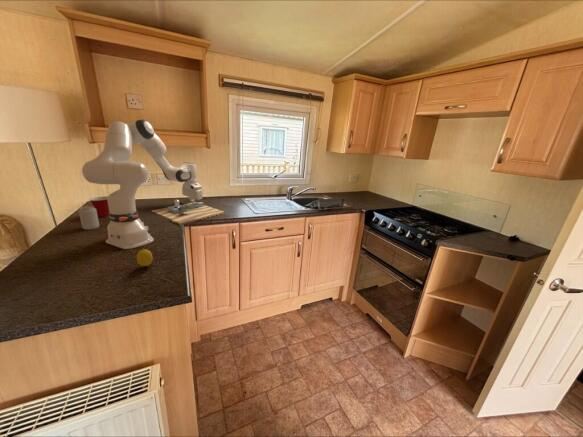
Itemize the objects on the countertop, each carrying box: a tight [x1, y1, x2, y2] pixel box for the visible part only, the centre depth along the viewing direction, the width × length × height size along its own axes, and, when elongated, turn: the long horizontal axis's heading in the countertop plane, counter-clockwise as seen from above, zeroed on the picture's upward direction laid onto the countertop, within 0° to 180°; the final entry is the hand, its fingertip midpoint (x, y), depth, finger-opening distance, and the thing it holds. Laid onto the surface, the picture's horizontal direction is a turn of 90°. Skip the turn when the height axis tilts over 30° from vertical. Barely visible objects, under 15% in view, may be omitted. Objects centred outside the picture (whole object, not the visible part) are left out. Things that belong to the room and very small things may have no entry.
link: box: [167, 201, 205, 213], centre depth 173 cm, size 24×9×2 cm, turn 145°
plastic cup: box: [88, 195, 109, 218], centre depth 151 cm, size 11×11×12 cm
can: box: [78, 205, 100, 231], centre depth 132 cm, size 8×8×12 cm
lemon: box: [136, 248, 153, 267], centre depth 99 cm, size 6×6×8 cm
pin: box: [173, 198, 181, 209], centre depth 166 cm, size 3×3×8 cm
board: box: [152, 201, 225, 226], centre depth 169 cm, size 34×34×2 cm
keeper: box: [178, 206, 190, 215], centre depth 161 cm, size 4×7×5 cm, turn 145°
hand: (192, 202), depth 183 cm, fingers closed
